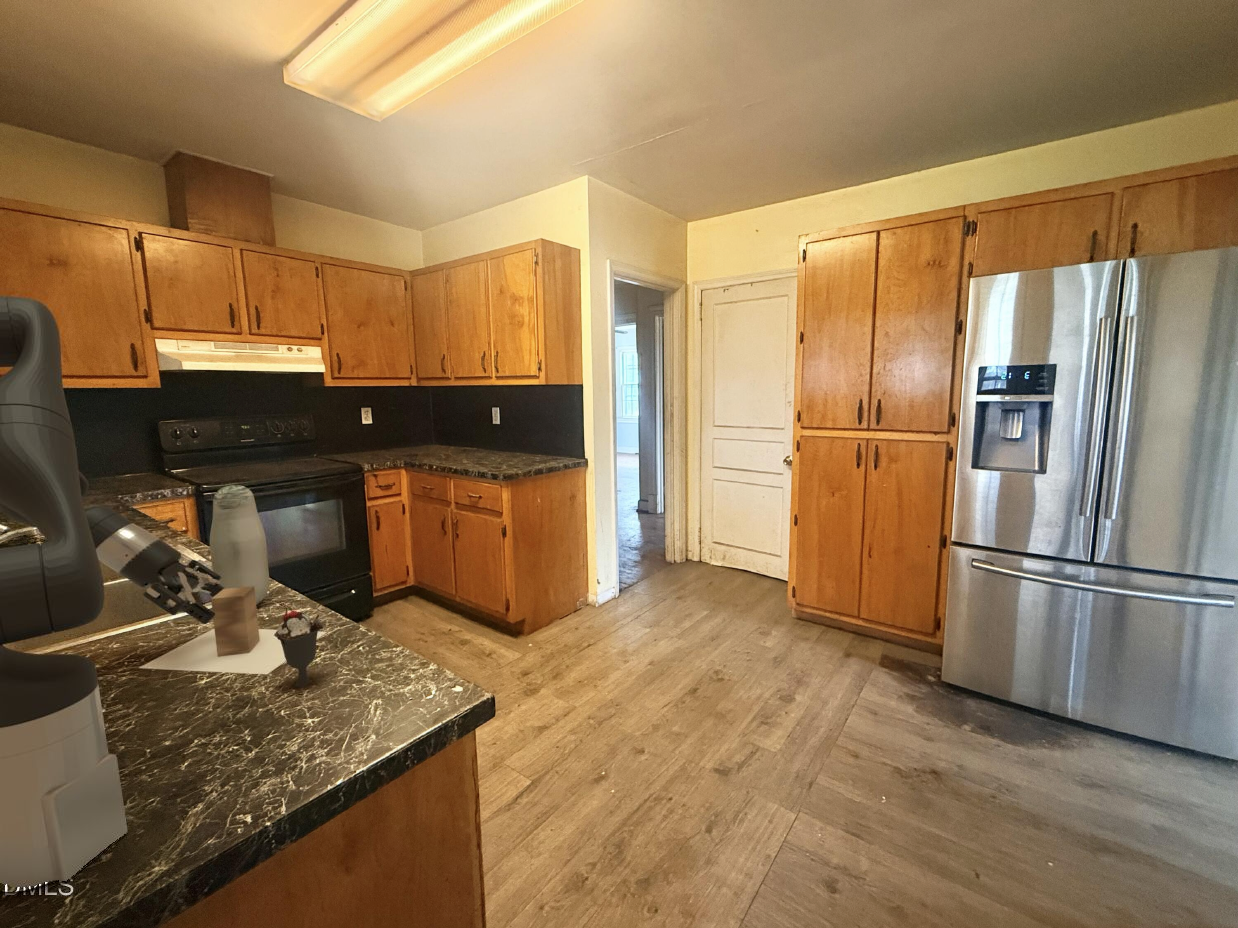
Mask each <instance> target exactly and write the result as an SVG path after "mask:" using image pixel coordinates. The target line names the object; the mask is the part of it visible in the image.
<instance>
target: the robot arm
mask: <svg viewBox="0 0 1238 928" xmlns="http://www.w3.org/2000/svg"><path fill="white" fill-rule="evenodd" d="M58 327H59V326H58V324H57V321H56V319H55V317H54V314H53V313H52V311H51V310H50V309H49V308H48V307H47V306H46V305H45V304H44V303H43V302H41V301H39V300H36V299H32V298H30V297H29V298H28V297H21V296H6V295H0V368H11V369H10V370H8V371H7V372H5V373H4V374H2V375H1V376H0V511H1V512H2V513H3V514H4V515H6V516H7V517H8V518H10V519H11V520H14V521H17V522H19V523H21V524H23V525H26V526H29V527H32V528H36V529H37V530H38V531H39V532H40V533H41V535H43V537H44V538H45V540H46V541H45V542H41V543H40V542H38V543H29V544H23V545H15V546H8V547H1V548H0V883H2V884H4V885H6V884H7V886H8V885H9V886H10V887H14V888H15V887H21V888H22V887H25V888H26V886H27V887H29V886H36V885H38V884H42V883H44V882H49V881H53V880H59V881H66V882H68V881H69V880H71V879H72V878H73V877H74V876H75V875H77V874H78V873H79V872H80V871H81V870H82V869H81V868H83V866H84V865H86V864H87V863H88V862H89V861H90V860H92V859H93V858H94V857H96V856H97V855H98V854H99V853H100V852H101V851H103V850H104V849H106V848H107V847H108V846H109V845H110V844H112V843H113V842H115V841H116V840H117V839H118V840H120V839H121V838H122V837H123V836H125V835H126V834H127V833H128V825H127V819H126V813H125V812H126V810H125V806H124V799H123V791H122V785H121V779H120V778H121V777H120V772H119V764H118V757H117V755H116V754H114V753H109V749H108V748H109V747H108V741H107V736H106V727H105V721H104V714H103V707H102V701H101V694H100V687H99V680H98V679H99V678H98V673H97V668H96V665H95V663H94V661H93V660H92V659H90V658H89V657H87V656H84V655H79V654H71V653H68V654H67V653H65V654H63V653H62V654H61V653H59V654H58V653H57V654H56V653H52V654H51V653H50V654H49V653H48V654H43V653H31V652H23V651H18V650H14V649H11V648H8V647H6V646H5V645H7V644H12V643H13V644H14V643H17V642H21V641H25V640H29V639H34V638H38V637H43V636H47V635H52V634H53V633H60V632H64V631H67V630H72V629H75V628H79V627H82V626H85V625H88V624H90V623H92V622H94V621H96V620H97V619H98V618H99V616H100V614H101V613H102V610H103V608H104V602H105V586H104V585H105V584H104V579H103V577H104V575H103V572H102V567H101V563H102V564H104V565H105V566H106V567H109V568H110V569H112V570H113V571H115V572H116V573H118V574H119V575H121V576H122V577H124V578H126V580H129V581H130V582H131V583H133V584H135V585H137V586H138V587H140V588H142V589H143V588H147V587H148V588H147V589H146V590H145V591H144V592H143V593H142V596H143V597H144V598H146V599H147V600H149V601H151V602H152V603H154V605H156V606H158V607H160V608H161V609H162V610H164V611H165V612H167V613H169V614H170V615H171V616H176V615H177V614H180V613H181V614H185V613H186V614H188V615H189V616H191V617H192V618H194V619H195V620H197V621H198V622H200V623H202V624H203V625H206V624H208V623H209V622H210V621H212V619H213V617H214V616H215V613H214V612H213V611H212V609H210V608H208V607H206V606H205V605H203V604H202V603H201V602H199V601H196V600H195V598H194V596H193V595H192V594H193V593H198V592H201V593H206V594H208V595H210V596H211V598H213V597H214V596H215V595H217V594H218V593H219V592H220V591H222V590H223V589H225V588H224V587H222V586H221V585H220V582H219V580H220V579H221V576H220V575H218V574H217V573H215V572H213V569H212V570H211V568H209V567H207V566H206V565H205V564H203V563H201V562H199V561H198V560H196V559H191V560H190V561H189V562H188V563H187V564H183V563H181V562H180V559H181V558H182V553H181V552H180V551H178V550H176V549H175V548H173V547H172V546H170V545H169V544H168V543H166V542H165V541H164V540H162V539H160V537H158V536H156V535H155V534H153V533H151V532H150V531H148V530H146V529H145V528H143V527H141V526H139V525H137V524H135V523H134V522H132V521H131V520H129V519H128V518H126V517H125V516H123V515H122V514H120V513H119V512H117V511H116V510H114V509H113V508H111V507H109V506H107V505H102V504H100V505H99V504H98V505H94V506H92V507H88V508H85V506H84V505H85V504H84V501H83V498H85V497H86V495H87V494H88V491H89V485H90V484H89V481H88V480H87V478H86V476H84V474H83V473H81V471H80V470H79V463H78V455H77V454H78V453H77V446H76V440H75V434H74V430H73V424H72V422H71V416H70V412H69V408H68V405H67V400H66V397H65V392H64V386H63V385H64V384H63V372H62V370H63V368H62V367H63V366H62V353H61V352H62V347H61V337H60V332H59V328H58ZM100 562H101V563H100ZM168 602H169V603H168ZM172 605H173V606H172ZM124 834H125V835H124ZM120 837H121V838H120ZM119 838H120V839H119ZM118 840H117V841H118ZM117 841H116V842H117ZM116 842H115V843H116ZM113 844H114V843H113ZM113 844H112V845H113ZM107 849H108V848H107ZM107 849H106V850H107ZM97 857H98V856H97ZM97 857H96V858H97ZM86 866H87V865H86ZM83 869H84V868H83ZM79 870H80V871H79ZM78 871H79V872H78ZM77 872H78V873H77ZM76 873H77V874H76ZM73 875H74V876H73ZM72 876H73V877H72ZM71 877H72V878H71ZM68 879H69V880H68ZM67 880H68V881H67Z"/></svg>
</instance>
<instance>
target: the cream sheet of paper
mask: <svg viewBox="0 0 1238 928" xmlns="http://www.w3.org/2000/svg"><path fill="white" fill-rule="evenodd" d="M277 631H278V629H268V628H267V629H266V628H265V629H264V628H259V638H260V641H259V642H258V644H257V645H256V646H255V647H254V648H253V649H252V651H251V652H250V653H246V654H238V655H229V656H221V657H218V655H217V647H216V638H215V629H214V628H212V629H210V630H208V631H207V632H205V633H203V634H201V635H199V636H197V637H195V638H193V639H191V640H189V641H188V642H186V643H185V642H184V643H183V644H181V645H180V646H178V647H176V648H174V649H172V650H170V651H168V652H166V653H164V654H163V655H161V656H158V657H157V658H155V659H153V660H150V661H149V662H147V663H145V664H144V665H142V666H139V667H138V669H149V670H167V671H169V670H170V671H171V670H172V671H187V672H188V671H189V672H190V671H191V672H206V673H207V672H209V673H210V672H211V673H230V674H248V675H249V674H251V675H268V674H270V673H272V671H274V670H275V669H277V668H278V667H280V666H281V665H282V664H284V663H285V662H287V661H286V659H285V655H284V652H283V648H282V644H281V641H280V640H278V638H277V637H275V636H274V634H275V633H276V632H277ZM327 633H328V631H321V630H319V631H318V633H317V640H319V639H320V638H321V637H323V636H324V635H325V634H327Z"/></svg>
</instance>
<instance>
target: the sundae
mask: <svg viewBox="0 0 1238 928" xmlns="http://www.w3.org/2000/svg"><path fill="white" fill-rule="evenodd" d="M278 605H279V606H280V607H283V608H284V609H285V610H286V611H285V614H284V615H282V617H281V618H282V620H283V621H282V622H281V623H280V624H279V626H278V628H277V630H278V631H277V632H276V633H275V634H274V636H275V637H277V638H278V640H280V641H281V644H282V648H283V652H284V655H285V659H286V661H285V662H286V663H287V665H288V666H290V667H291V668H293V669H296V670H297V672H298V673H297V674H298V675H297V676H298V678H297V680H296V683H295V684H294V686H295V687H298V688H302V687H306V686H308V685H309V684H311V683H312V682H313V681H312V679H310V678H309V676H308V673H307V672H308V671H307V668H308V667H309V665H311V664H312V663H313V661H314V660H315V658H316V653H317V642H318V639H317V633H318V631H321V630H323V629H324V626H323V624H322V622H321V621H319V617H320V614H317V615H316V617H315V618H314V620H312V619H311V616H310V614H307V613H305V612H298V611H297V610H293V609H291V607H289V605H286V604H285V602H280V603H278ZM288 609H289V610H290V613H288ZM307 694H308V693H307V692H305V693H301V694H299V693H298V694H293V696H294V697H295V696H302V695H307Z"/></svg>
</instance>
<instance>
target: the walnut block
mask: <svg viewBox="0 0 1238 928" xmlns="http://www.w3.org/2000/svg"><path fill="white" fill-rule="evenodd" d="M210 601H211V603H210V604H211V611H213V612H214V613H215V616H214V617H213V618H212V619H213V629H215V638H216V647H217V655H218V657H221V656H229V655H238V654H246V653H250V652H251V651H252V649H253V648H254V647H255V646H256V645H257V644H258V642H259V641H260V638H259V629H260V628H259V620H258V611H257V609H258V608H257V605H256V599H255V589H254V586H250V587H239V588H228V589H223V590H222V591H220V592H219V593H218V594H217V595H215V596H214V597H211V598H210Z"/></svg>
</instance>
